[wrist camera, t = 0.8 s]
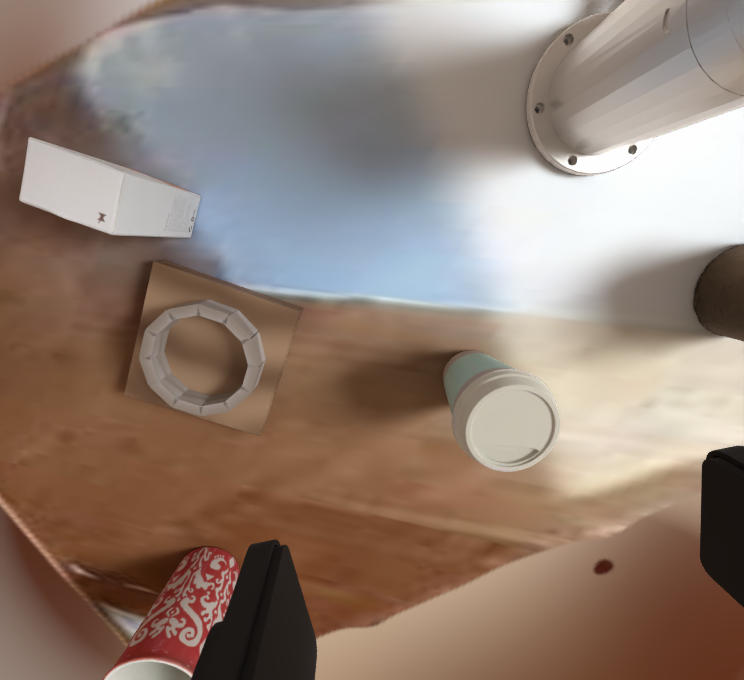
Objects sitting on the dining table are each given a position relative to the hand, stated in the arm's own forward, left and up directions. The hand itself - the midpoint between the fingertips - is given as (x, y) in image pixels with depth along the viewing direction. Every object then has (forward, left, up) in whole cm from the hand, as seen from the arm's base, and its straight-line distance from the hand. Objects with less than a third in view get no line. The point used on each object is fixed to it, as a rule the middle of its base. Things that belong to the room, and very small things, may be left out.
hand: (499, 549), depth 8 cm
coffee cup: (+4, +11, -31) cm, 33 cm away
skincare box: (-2, -23, -31) cm, 39 cm away
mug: (+39, -10, -31) cm, 51 cm away
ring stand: (+10, -15, -31) cm, 36 cm away
